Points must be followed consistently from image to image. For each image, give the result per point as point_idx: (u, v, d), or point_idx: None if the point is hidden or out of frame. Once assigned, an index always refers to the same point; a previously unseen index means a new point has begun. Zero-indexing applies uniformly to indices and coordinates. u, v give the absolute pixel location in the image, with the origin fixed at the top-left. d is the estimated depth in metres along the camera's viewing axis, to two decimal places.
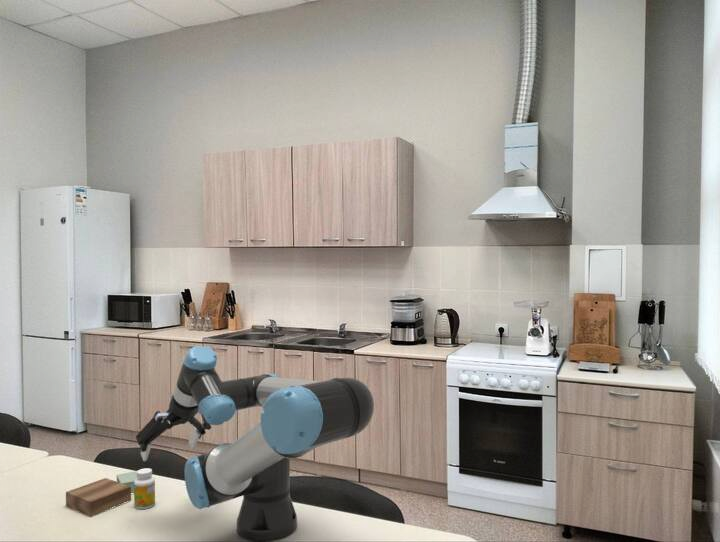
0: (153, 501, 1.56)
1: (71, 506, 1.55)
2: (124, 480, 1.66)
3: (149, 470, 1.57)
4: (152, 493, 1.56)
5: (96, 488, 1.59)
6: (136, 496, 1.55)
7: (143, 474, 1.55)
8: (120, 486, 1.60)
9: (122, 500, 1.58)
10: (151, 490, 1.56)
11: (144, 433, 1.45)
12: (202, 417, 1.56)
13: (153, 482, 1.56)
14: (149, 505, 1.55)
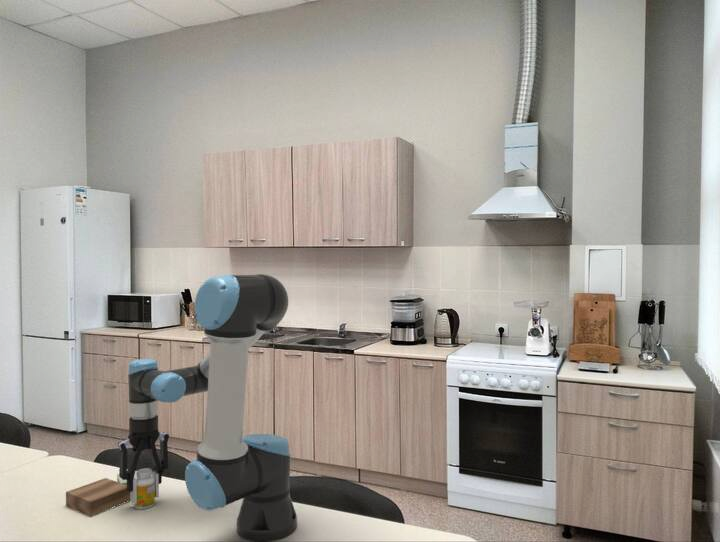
0: (153, 501, 1.56)
1: (71, 506, 1.55)
2: None
3: (149, 470, 1.57)
4: (152, 493, 1.56)
5: (96, 488, 1.59)
6: None
7: (143, 474, 1.55)
8: (120, 486, 1.60)
9: (122, 500, 1.58)
10: (151, 490, 1.56)
11: (121, 467, 1.52)
12: (161, 451, 1.60)
13: (153, 482, 1.56)
14: (149, 505, 1.55)
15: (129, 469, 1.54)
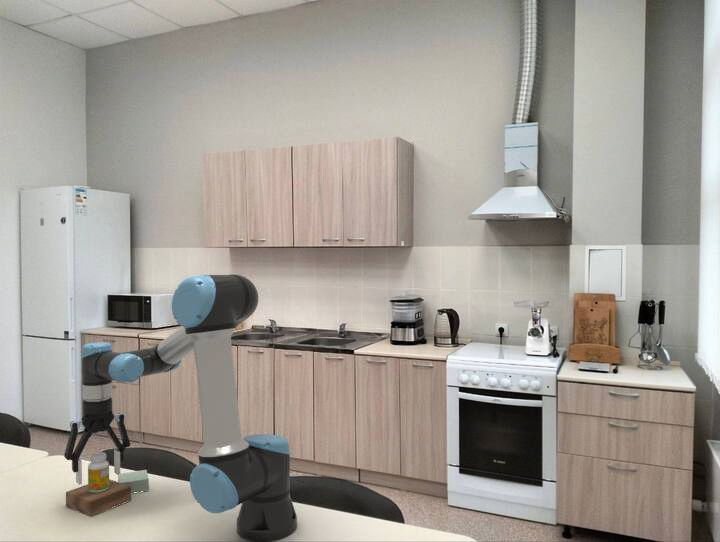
0: (107, 485, 1.58)
1: (71, 506, 1.55)
2: (123, 479, 1.66)
3: (103, 454, 1.58)
4: (105, 476, 1.57)
5: None
6: (89, 480, 1.56)
7: (97, 458, 1.56)
8: (120, 486, 1.60)
9: (122, 500, 1.58)
10: (105, 474, 1.57)
11: (68, 447, 1.53)
12: (120, 431, 1.62)
13: (107, 466, 1.58)
14: (102, 489, 1.56)
15: (76, 449, 1.54)
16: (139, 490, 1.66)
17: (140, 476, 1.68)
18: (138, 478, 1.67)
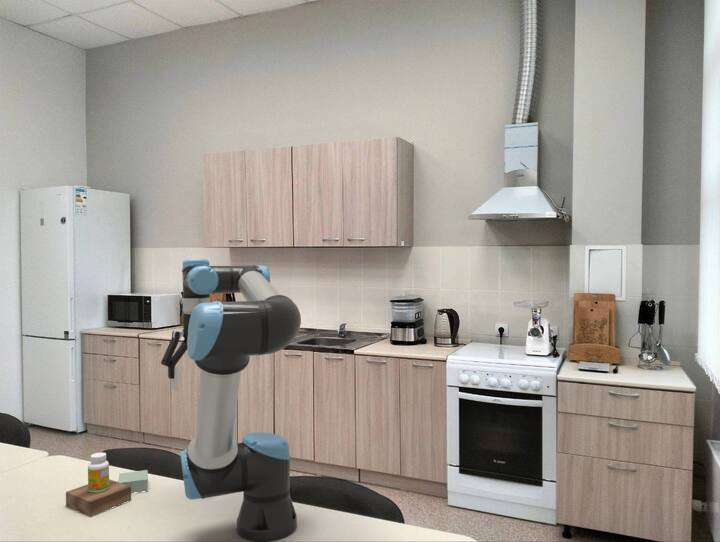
0: (107, 485, 1.58)
1: (71, 506, 1.55)
2: (122, 479, 1.66)
3: (103, 454, 1.58)
4: (105, 476, 1.57)
5: None
6: (89, 480, 1.56)
7: (97, 458, 1.56)
8: (120, 486, 1.60)
9: (122, 500, 1.58)
10: (104, 474, 1.57)
11: (167, 353, 1.56)
12: None
13: (107, 466, 1.58)
14: (102, 489, 1.56)
15: (173, 357, 1.58)
16: (138, 490, 1.65)
17: (139, 476, 1.68)
18: (137, 479, 1.66)
